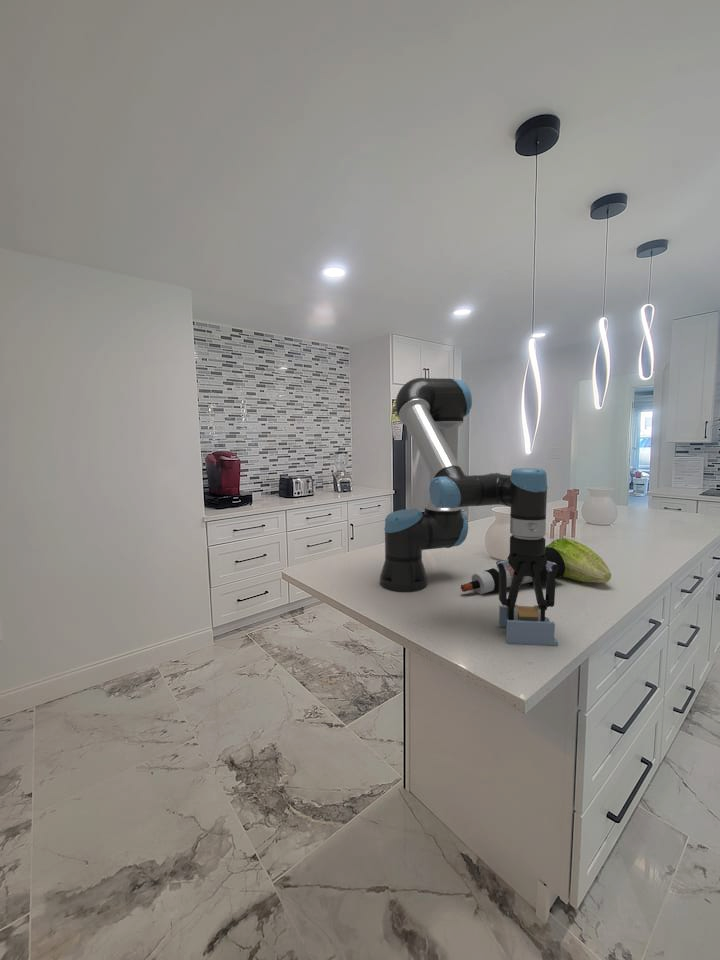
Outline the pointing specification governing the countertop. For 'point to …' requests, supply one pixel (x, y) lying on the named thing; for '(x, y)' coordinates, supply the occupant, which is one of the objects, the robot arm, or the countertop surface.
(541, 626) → the holder
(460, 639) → the countertop surface
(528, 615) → the block
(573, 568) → the lettuce
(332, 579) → the countertop surface
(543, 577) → the cable
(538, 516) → the robot arm
